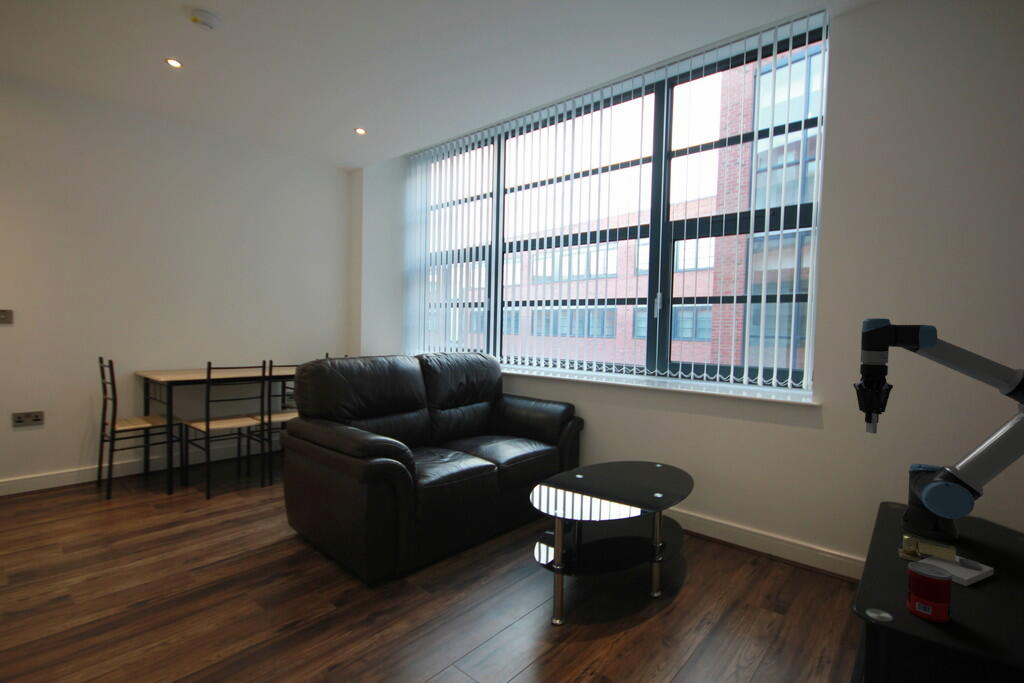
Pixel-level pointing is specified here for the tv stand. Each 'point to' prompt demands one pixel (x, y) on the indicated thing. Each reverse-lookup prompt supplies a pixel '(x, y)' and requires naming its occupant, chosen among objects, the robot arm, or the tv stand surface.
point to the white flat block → (961, 569)
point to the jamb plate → (909, 556)
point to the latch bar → (927, 548)
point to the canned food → (929, 591)
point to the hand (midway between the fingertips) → (871, 432)
